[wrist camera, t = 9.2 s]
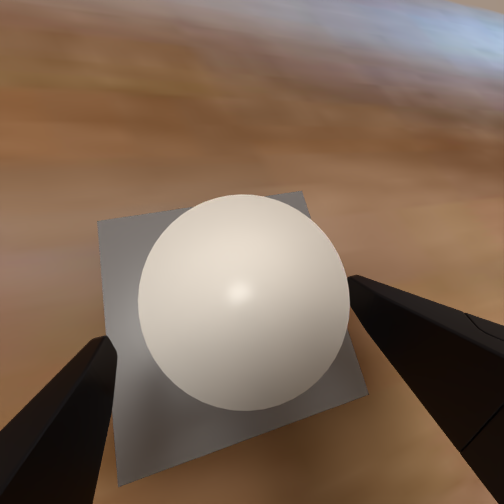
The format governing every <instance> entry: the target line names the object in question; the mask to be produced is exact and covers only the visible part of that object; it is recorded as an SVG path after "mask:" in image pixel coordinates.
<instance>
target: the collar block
mask: <svg viewBox="0 0 504 504" xmlns="http://www.w3.org/2000/svg"><path fill="white" fill-rule="evenodd" d="M264 197H267V198H271V199H275V200H278V201H280V202H283V203H285V204H288V205H289V206H291V207H293V208H295V209H297V210H299V211H300V212H301V213H303V214H304V215H306V216H307V217H308V218H310V219H311V217H310V214H309V211H308V208H307V205H306V202H305V199H304V196H303V193H302V191H298V192H291V193H284V194H277V195H271V196H264ZM191 208H193V207H190V208H183V209H176V210H169V211H163V212H156V213H149V214H142V215H136V216H129V217H122V218H115V219H109V220H102V221H97V225H98V237H99V250H100V263H101V276H102V288H103V301H104V314H105V326H106V336H108V337H109V338H110V340H111V342H112V344H113V346H114V347H115V349H116V351H117V355H118V359H117V370H116V380H115V390H114V400H113V407H112V415H113V428H114V441H115V453H116V466H117V479H118V487H120V486H123V485H125V484H128V483H131V482H133V481H136V480H139V479H142V478H144V477H147V476H150V475H152V474H155V473H158V472H160V471H163V470H166V469H169V468H171V467H174V466H177V465H179V464H182V463H185V462H188V461H190V460H193V459H196V458H198V457H201V456H204V455H206V454H209V453H212V452H215V451H217V450H220V449H223V448H225V447H228V446H231V445H233V444H236V443H239V442H242V441H244V440H247V439H250V438H252V437H255V436H258V435H261V434H263V433H266V432H269V431H271V430H274V429H277V428H279V427H282V426H285V425H288V424H290V423H293V422H296V421H298V420H301V419H304V418H307V417H309V416H312V415H315V414H317V413H320V412H323V411H325V410H328V409H331V408H334V407H336V406H339V405H342V404H344V403H347V402H350V401H353V400H355V399H358V398H361V397H363V396H366V395H369V393H368V390H367V387H366V384H365V381H364V378H363V375H362V372H361V369H360V366H359V363H358V360H357V357H356V354H355V351H354V348H353V345H352V341H351V338H350V335H349V332H348V329H347V330H346V334H345V337H344V340H343V343H342V346H341V348H340V350H339V352H338V354H337V356H336V358H335V359H334V361H333V362H332V364H331V365H330V367H329V368H328V370H327V371H326V372H325V373H324V374H323V376H322V377H321V378H320V379H319V380H318V381H317V382H316V383H315V384H314V385H312V386H311V387H310V388H309V389H308V390H307V391H305V392H304V393H302V394H300V395H299V396H297V397H296V398H294V399H292V400H290V401H287V402H285V403H283V404H281V405H278V406H274V407H270V408H267V409H261V410H253V411H236V410H228V409H223V408H218V407H215V406H212V405H209V404H206V403H204V402H201V401H199V400H198V399H196V398H194V397H192V396H190V395H188V394H187V393H186V392H184V391H183V390H182V389H180V388H179V387H178V386H176V385H175V384H174V383H173V382H172V381H171V380H170V379H169V378H168V377H167V376H166V375H165V374H164V373H163V371H162V370H161V368H160V367H159V366H158V364H157V363H156V362H155V360H154V358H153V356H152V354H151V353H150V351H149V349H148V347H147V344H146V342H145V339H144V336H143V333H142V330H141V324H140V319H139V310H138V294H139V284H140V279H141V275H142V271H143V268H144V265H145V262H146V260H147V257H148V255H149V253H150V251H151V250H152V248H153V246H154V244H155V243H156V241H157V240H158V238H159V237H160V236H161V234H162V233H163V232H164V231H165V230H166V229H167V227H168V226H169V225H170V224H171V223H172V222H173V221H175V220H176V219H177V218H178V217H179V216H181V215H182V214H183V213H185V212H187V211H188V210H190V209H191Z"/></svg>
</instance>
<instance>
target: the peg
mask: <svg viewBox="0 0 504 504" xmlns="http://www.w3.org/2000/svg"><path fill="white" fill-rule="evenodd" d="M138 310H139V319H140V324H141V330H142V333H143V336H144V339H145V342H146V344H147V347H148V349H149V351H150V353H151V354H152V356H153V358H154V360H155V362H156V363H157V364H158V366H159V367H160V368H161V370H162V371H163V373H164V374H165V375H166V376H167V377H168V378H169V379H170V380H171V381H172V382H173V383H174V384H175V385H176V386H178V387H179V388H180V389H182V390H183V391H184V392H186V393H187V394H188V395H190V396H192V397H194V398H196V399H198V400H199V401H201V402H204V403H206V404H209V405H212V406H215V407H218V408H223V409H228V410H236V411H253V410H261V409H267V408H270V407H274V406H278V405H281V404H283V403H285V402H287V401H290V400H292V399H294V398H296V397H297V396H299V395H300V394H302V393H304V392H305V391H307V390H308V389H309V388H310V387H311V386H312V385H314V384H315V383H316V382H317V381H318V380H319V379H320V378H321V377H322V376H323V374H324V373H325V372H326V371H327V370H328V368H329V367H330V365H331V364H332V362H333V361H334V359H335V358H336V356H337V354H338V352H339V350H340V348H341V346H342V343H343V340H344V337H345V334H346V330H347V325H348V320H349V310H350V298H349V288H348V282H347V277H346V274H345V270H344V267H343V264H342V262H341V260H340V257H339V255H338V253H337V251H336V249H335V248H334V246H333V244H332V243H331V241H330V240H329V239H328V237H327V236H326V234H325V233H324V232H323V231H322V230H321V229H320V228H319V227H318V226H317V225H316V224H315V223H314V222H313V221H312V220H311V219H310V218H308V217H307V216H306V215H304V214H303V213H301V212H300V211H299V210H297V209H295V208H293V207H291V206H289V205H288V204H285V203H283V202H280V201H278V200H275V199H271V198H267V197H263V196H256V195H229V196H224V197H219V198H215V199H212V200H209V201H206V202H203V203H201V204H199V205H197V206H195V207H193V208H191V209H190V210H188V211H187V212H185V213H183V214H182V215H181V216H179V217H178V218H177V219H176V220H175V221H173V222H172V223H171V224H170V225H169V226H168V227H167V229H166V230H165V231H164V232H163V233H162V234H161V236H160V237H159V238H158V240H157V241H156V243H155V244H154V246H153V248H152V250H151V251H150V253H149V255H148V257H147V260H146V262H145V265H144V268H143V271H142V275H141V279H140V284H139V294H138Z"/></svg>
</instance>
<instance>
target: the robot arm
mask: <svg viewBox="0 0 504 504" xmlns="http://www.w3.org/2000/svg"><path fill="white" fill-rule="evenodd" d="M347 282H348V288H349V298H350V306H351V308H352V309H353V311H354V313H355V314H356V316H357V317H358V319H359V321H360V322H361V324H362V325H363V327H364V328H365V330H366V331H367V333H368V334H369V335H370V337H371V338H372V339H373V340H374V342H375V343H376V344H377V346H378V347H379V348H380V350H381V351H382V352H383V353H384V355H385V356H386V357H387V359H388V360H389V361H390V363H391V364H392V365H393V367H394V368H395V369H396V370H397V372H398V373H399V374H400V376H401V377H402V378H403V380H404V381H405V382H406V383H407V385H408V386H409V387H410V389H411V390H412V391H413V393H414V394H415V395H416V397H417V398H418V399H419V400H420V402H421V403H422V404H423V406H424V407H425V408H426V410H427V411H428V412H429V413H430V415H431V416H432V417H433V419H434V420H435V421H436V423H437V424H438V425H439V427H440V428H441V429H442V430H443V432H444V433H445V434H446V436H447V437H448V438H449V440H450V441H451V442H452V443H453V445H454V446H455V447H456V449H457V450H458V451H459V452H460V454H461V455H462V457H463V458H464V459H465V461H466V462H467V463H468V465H469V466H470V467H471V469H472V470H473V471H474V472H475V474H476V475H477V476H478V478H479V479H480V480H481V482H482V483H483V484H484V485H485V487H486V488H487V489H488V491H489V492H490V493H491V495H492V496H493V497H494V498H495V500H496V501H497V502H498V504H504V326H503V325H500V324H497V323H494V322H491V321H488V320H485V319H482V318H479V317H476V316H474V315H471V314H468V313H463V312H462V311H459V310H456V309H454V308H451V307H448V306H445V305H442V304H439V303H436V302H434V301H431V300H428V299H425V298H422V297H419V296H416V295H414V294H411V293H408V292H405V291H402V290H399V289H396V288H394V287H391V286H388V285H385V284H382V283H379V282H377V281H374V280H371V279H368V278H365V277H362V276H359V275H354V276H349V277H348V278H347ZM117 359H118V355H117V351H116V349H115V347H114V346H113V344H112V342H111V340H110V338H109V337H108V336H101V337H97V338H93V339H92V340H90V341H89V342H88V343H87V344H86V345H85V346H84V347H83V348H82V349H81V350H80V351H79V352H78V353H77V355H76V356H75V357H74V358H73V359H72V360H71V361H70V362H69V363H68V364H67V365H66V366H65V367H64V368H63V369H62V370H61V371H60V372H59V373H58V374H57V375H56V376H55V377H54V378H53V379H52V380H51V381H50V382H49V383H48V384H47V385H46V386H45V387H44V388H43V389H42V390H41V391H40V392H39V393H38V394H37V395H36V396H35V397H34V398H33V399H32V400H31V401H30V402H29V403H28V404H27V405H26V406H25V407H24V408H23V409H22V410H21V411H20V412H19V413H18V414H17V415H16V416H15V417H14V418H13V419H12V420H11V421H10V422H9V423H8V424H7V425H6V426H5V427H4V428H3V429H2V430H1V431H0V504H92V503H93V499H94V494H95V489H96V484H97V480H98V475H99V470H100V465H101V460H102V456H103V451H104V446H105V441H106V437H107V432H108V427H109V422H110V417H111V413H112V407H113V400H114V390H115V380H116V370H117Z"/></svg>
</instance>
